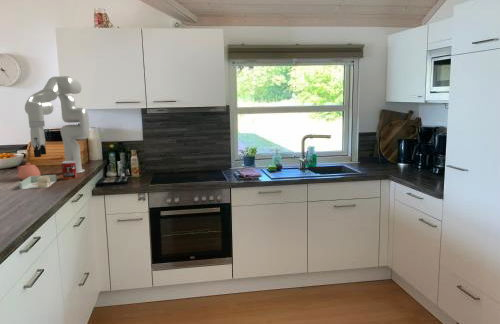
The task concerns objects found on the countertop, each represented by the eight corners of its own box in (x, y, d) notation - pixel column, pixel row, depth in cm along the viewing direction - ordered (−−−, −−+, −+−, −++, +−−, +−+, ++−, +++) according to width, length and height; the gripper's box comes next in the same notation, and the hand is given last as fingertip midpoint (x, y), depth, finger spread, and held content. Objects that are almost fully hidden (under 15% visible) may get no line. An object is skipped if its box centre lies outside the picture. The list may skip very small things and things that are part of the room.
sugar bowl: (31, 181, 249) (29, 164, 247) (11, 181, 252) (9, 164, 250) (45, 177, 261) (43, 161, 259) (26, 177, 264) (24, 161, 262)
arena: (30, 183, 243) (29, 176, 242) (56, 181, 245) (56, 174, 245) (20, 190, 225) (19, 182, 225) (48, 188, 228) (47, 180, 227)
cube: (40, 185, 233) (39, 176, 232) (50, 184, 234) (49, 176, 233) (38, 187, 228) (37, 178, 227) (47, 186, 229) (46, 177, 228)
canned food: (62, 181, 247) (60, 163, 245) (64, 178, 254) (62, 161, 252) (76, 180, 249) (74, 162, 247) (77, 177, 256) (76, 160, 254)
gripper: (34, 124, 233) (37, 153, 235) (24, 126, 216) (28, 158, 219) (48, 123, 234) (52, 153, 237) (39, 125, 217) (43, 157, 220)
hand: (40, 155), depth 228 cm, fingers open, 9 cm apart
